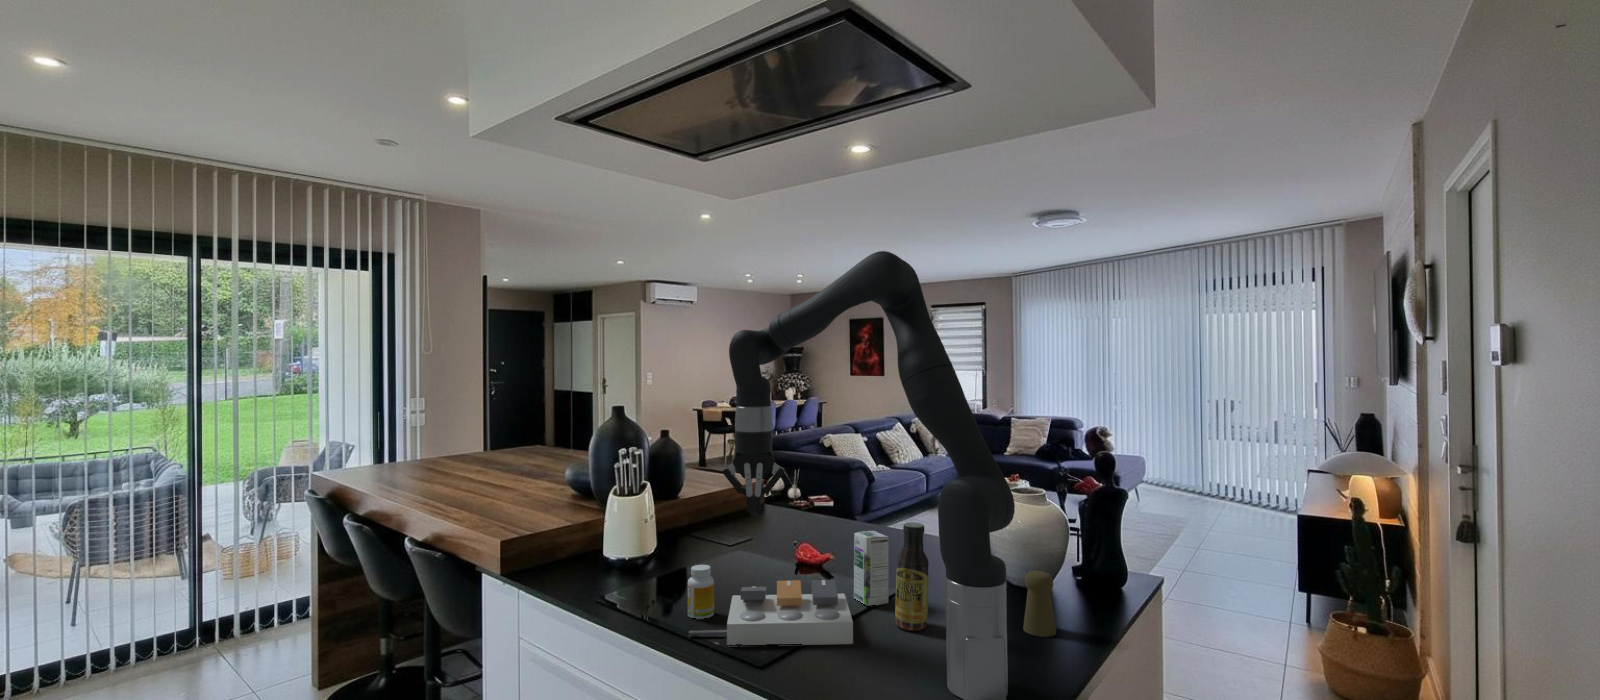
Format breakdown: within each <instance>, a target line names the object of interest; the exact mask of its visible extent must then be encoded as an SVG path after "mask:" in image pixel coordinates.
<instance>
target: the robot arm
mask: <svg viewBox="0 0 1600 700" xmlns="http://www.w3.org/2000/svg"><path fill="white" fill-rule="evenodd" d="M868 302H873V303H876V304H877V305H879V306H880V307H881V309H882V310H883V312H884V314H885V316H886V318H887V320H888V321H889V324H890V327H891V329H892V331H893V334H894V337H895V340H896V349H897V369H898V375H899V379H900V382H901V386H902V387H903V390H904V393H905V396H906V398H907V401H908V404H909V406H910V408H911V410H912V412H913V414H914V415H915V417H916V418H917V419H918V421H919V422H920V423H921V424H922V426H923V427H924V428H926V430H927V431H928V432H929V433H930V434H931V435H932V436H933V437H934V438H935V439H936V440H937V441H938V443H939V444H940V445H941V446H942V447H943V449H944V450H945V451H946V453H947V455H948V456H949V458H950V460H951V461H952V464H953V467H954V469H955V471H956V474H957V476H958V477H956V478H953V479H951V480H948V481H947V482H946V483H945V484H944V485H943V486H942V489H941V490H940V493H939V498H938V503H937V505H938V506H937V515H938V516H937V517H938V518H937V520H938V534H939V549H940V550H939V551H940V555H941V559H942V561H943V564H944V567H945V614H946V615H945V620H946V622H945V625H946V627H945V628H946V629H945V632H946V634H945V635H946V636H945V637H946V686H947V689H948V691H949V692H950V693H952V694H953V695H955V696H956V697H958V698H960V699H961V700H962V699H963V700H1007V696H1008V692H1009V690H1008V689H1009V688H1008V687H1009V685H1008V684H1009V679H1008V676H1009V675H1008V674H1009V673H1008V672H1009V671H1008V631H1007V630H1008V627H1007V626H1008V622H1007V619H1008V618H1007V611H1008V610H1007V567H1006V564H1005V561H1004V560H1002V558H1000V557H998V556H996V555H993V554H992V549H991V538H990V537H991V535H990V533H994V532H998V531H1000V530H1003V529H1005V528H1006V527H1009V525H1011V522H1012V521H1013V519H1014V515H1015V509H1016V507H1015V506H1016V505H1015V499H1014V496H1013V495H1014V494H1013V493H1012V490H1011V487H1010V485H1009V483H1008V481H1007V479H1006V477H1005V476H1004V473H1003V472H1002V470H1001V468H1000V466H999V465H998V463H997V461H996V459H995V457H994V455H993V454H992V451H990V448H989V446H988V444H987V442H986V440H985V438H984V436H983V435H982V432H981V429H980V427H979V425H978V423H977V421H976V418H975V416H974V414H973V412H972V409H971V407H970V405H969V402H968V400H967V398H966V395H965V392H964V390H963V387H962V385H961V382H960V380H959V378H958V375H957V372H956V370H955V368H954V365H953V364H952V361H951V359H950V357H949V355H948V353H947V351H946V349H945V346H944V343H943V342H942V339H941V338H940V335H939V334H938V331H937V329H936V328H935V325H934V324H933V321H932V318H931V316H930V313H929V310H928V307H927V303H926V300H925V297H924V293H923V289H922V285H921V282H920V279H919V277H918V273H916V270H915V269H914V268H913V266H912V265H911V264H909V262H907V261H905V260H904V259H902V257H900V256H898V255H897V254H895V253H892V252H890V251H886V250H879V251H877V252H876V251H875V252H872V253H870V254H869V255H867V256H866V257H865V258H863V259H862V260H861V261H859V262H858V263H856V264H855V265H854V266H852V267H851V268H849V269H848V270H847V271H846V272H844V274H842V275H841V276H839V277H838V278H836V280H834V281H832V282H831V283H830V284H829V285H827V286H826V287H825V288H823V289H822V290H820V291H818V292H817V293H815V294H814V295H813V296H811V297H810V298H807V299H806V300H804V301H802V302H801V303H799V304H797V305H795V306H793V307H790V308H789V309H787V310H786V311H783V312H782V313H780V314H778V315H776V316H775V317H774V318H772V320H771V321H770V322H769V326H768V327H765V328H763V329H761V330H751V329H741V330H738V331H737V332H735V333H734V335H733V336H732V338H731V340H730V343H729V348H728V355H729V356H728V357H729V362H730V366H731V371H732V375H733V379H734V382H735V386H736V388H735V391H736V392H735V393H736V396H735V397H736V398H735V399H736V401H735V404H736V406H735V407H736V408H735V409H736V410H735V414H734V415H735V416H734V445H735V446H734V448H735V449H734V457H733V459H732V463H730V464H729V465H728V466H726V467H724V468H723V470H722V474H723V476H724V477H725V478H726V480H727V481H728V482H729V483H730V484H731V486H732V487H733V488H734V490H736V492H737V493H738V494H739V495H744V496H745V497H746V498H745V499H746V512H747V513H749V516H758V513H760V512H761V510H762V496H763V495H765V494H769V493H770V492H772V489H773V488H774V486H775V485H776V484H777V483H778V482H779V480H780V479H781V478H782V476H783V475H784V473H785V468H784V467H783V466H780V465H779V464H777V463H776V462H775V461H776V459H775V457H774V456H773V414H772V404H771V403H772V402H771V400H772V398H771V397H772V396H771V394H772V393H771V391H772V389H771V382H770V380H769V379H768V378H767V377H764V376H763V375H762V372H761V371H762V370H761V366H763V365H766V364H769V363H771V362H774V361H776V360H777V359H779V358H780V357H781V356H783V355H784V354H786V353H787V352H788V351H789V350H790V349H792V348H794V347H796V346H798V345H801V344H803V343H805V342H806V341H808V340H810V339H813V338H815V337H816V336H818V335H819V334H820V333H822V332H823V331H824V330H826V329H827V328H829V326H830V325H831V324H832V323H833V322H834V320H835V319H837V318H838V317H839V316H841V314H843V313H844V312H846V311H847V310H849V309H851V308H853V307H856V306H859V305H861V304H864V303H868ZM735 469H736V470H737V472H738V474H740V476H741V477H742V478H743V479H744V482H745V486H743V484H742V483H741V482H740V481H739V479H738V477H737V476H735V475H736V470H735ZM771 469H772V471H771ZM770 471H771V474H772V476H771V477H770V479H769V480H768V481H767V482H766V484H765V485H764V486H763V487H762V485H763V479H764V478H766V476H767V475H768V473H769V472H770ZM753 479H754V480H755V483H754V484H755V485H754V490H753ZM753 492H754V493H753Z"/></svg>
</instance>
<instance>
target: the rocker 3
mask: <svg viewBox="0 0 1600 700" xmlns="http://www.w3.org/2000/svg"><path fill="white" fill-rule="evenodd" d="M810 583H811V585H810V588H811V594H812V599H813V605H838V595H837V594H838V589H837V583H836V579H812V580H811V581H810Z"/></svg>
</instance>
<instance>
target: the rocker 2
mask: <svg viewBox="0 0 1600 700" xmlns="http://www.w3.org/2000/svg"><path fill="white" fill-rule="evenodd" d="M802 594H803V593H802V583H801V579H800V580H799V579H797V580H795V579H794V580H793V579H792V580H776V595H777V606H799V605H802Z"/></svg>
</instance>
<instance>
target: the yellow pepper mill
mask: <svg viewBox="0 0 1600 700" xmlns="http://www.w3.org/2000/svg"><path fill="white" fill-rule="evenodd" d="M1024 584H1025V587H1026V589H1027V593H1026V602H1025V608H1024V609H1025V610H1024V611H1025V612H1024V619H1023V625H1022V626H1023V627H1022V629H1023V630H1022V631H1024V632H1025V633H1026V634H1029V635H1031V636H1035V637H1036V636H1037V637H1042V638H1043V637H1045V638H1048V637H1053V636H1056V634H1057V628H1056V627H1057V626H1056V621H1055V620H1056V619H1055V614H1054V606H1053V600H1052V593H1051V592H1052V590H1053V589H1054V579H1053V577H1052V575H1051V574H1049V573H1048V572H1045V571H1041V570H1030V571H1028V572H1026V574H1025V576H1024Z"/></svg>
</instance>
